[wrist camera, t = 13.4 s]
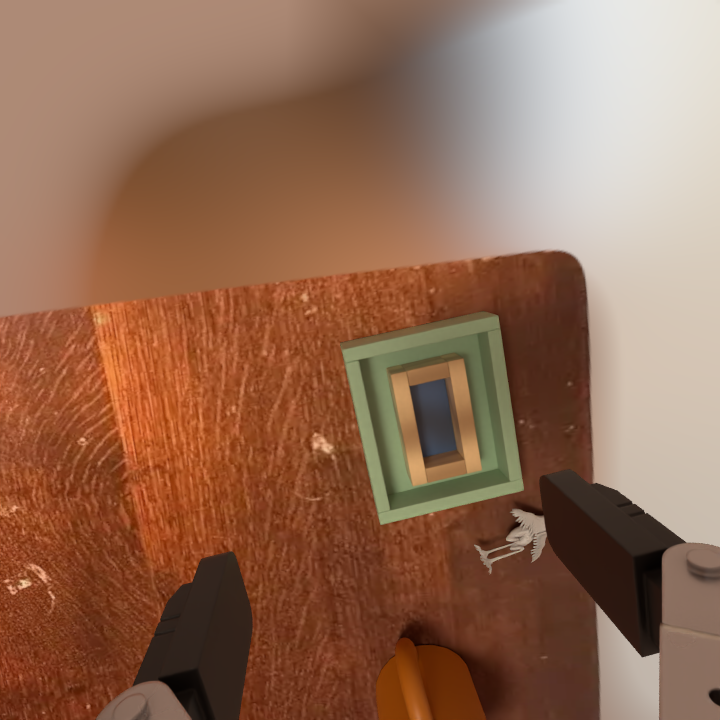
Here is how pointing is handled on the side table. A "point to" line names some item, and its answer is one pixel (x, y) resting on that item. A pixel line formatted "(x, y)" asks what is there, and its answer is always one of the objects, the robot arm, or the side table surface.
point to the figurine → (521, 537)
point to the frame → (434, 418)
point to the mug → (426, 685)
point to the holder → (488, 400)
